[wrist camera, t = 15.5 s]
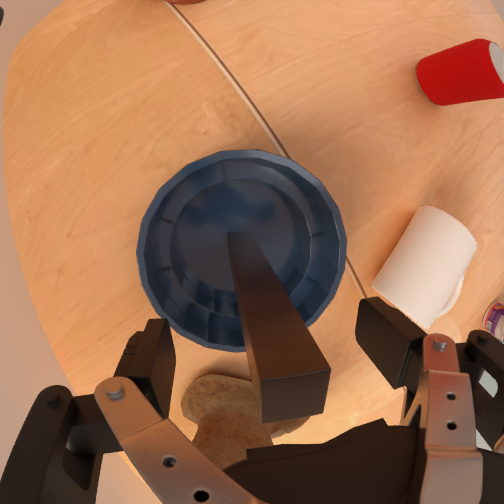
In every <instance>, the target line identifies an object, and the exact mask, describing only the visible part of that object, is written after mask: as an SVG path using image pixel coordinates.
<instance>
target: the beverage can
mask: <svg viewBox="0 0 504 504" xmlns="http://www.w3.org/2000/svg"><path fill="white" fill-rule="evenodd" d="M415 73H416V80H417V83H418V85H419V87H420V89H421V91H422V93H423V94H424V95H425V96H426V98H427V99H428V100H430V101H431V102H432V103H434V104H437V105H440V106H446V105H452V104H458V103H465V102H472V101H479V100H487V99H496V98H504V51H503V50H502V48H501V47H499V46H498V45H497V44H496V43H494V42H491V41H488V40H485V39H475V40H472V41H469V42H466V43H463V44H460V45H457V46H454V47H451V48H449V49H446V50H443V51H441V52H438V53H435V54H433V55H430V56H428V57H425V58H423V59H421V60H420V61H419V63H418V64H417V66H416V71H415Z"/></svg>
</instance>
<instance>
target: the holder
mask: <svg viewBox="0 0 504 504" xmlns="http://www.w3.org/2000/svg"><path fill="white" fill-rule="evenodd" d="M164 1H166V2H169V3H173V4H193V3H198V2H202V1H205V0H164Z"/></svg>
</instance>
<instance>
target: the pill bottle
mask: <svg viewBox="0 0 504 504" xmlns="http://www.w3.org/2000/svg"><path fill="white" fill-rule="evenodd" d="M483 327H484V328H485V329H486V330H488V331H489V332H490V333H492V334H493V335H494V336H496V337H497V338H499V339H500V340H501V341H503V342H504V305H502V304H500V303H499V302H493V303H492V304H491V305H490V306H489V307H488V309H487V311H486V313H485V315H484V318H483Z"/></svg>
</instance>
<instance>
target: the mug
mask: <svg viewBox="0 0 504 504" xmlns="http://www.w3.org/2000/svg"><path fill="white" fill-rule="evenodd" d="M476 249H477V242H476V240H475V238H474V236H473V235H472V233H471V232H470V231H469V230H468V229H467V228H466V227H465V226H464V225H463V224H462V223H461V222H460V221H458V220H457V219H456V218H454V217H453V216H451V215H450V214H448V213H447V212H445V211H443V210H441V209H438V208H436V207H433V206H428V205H422V206H420V207H419V208H418V209H417V211H416V213H415V215H414V216H413V218H412V220H411V222H410V223H409V225H408V227H407V228H406V230H405V232H404V233H403V235H402V237H401V238H400V240H399V242H398V243H397V245H396V246H395V248H394V250H393V251H392V253H391V254H390V256H389V257H388V259H387V261H386V262H385V264H384V265H383V267H382V268H381V270H380V271H379V273H378V274H377V276H376V277H375V278H374V280H373V281H372V283H371V287H372V288H373V289H374V290H376V291H377V292H378V293H379V294H381V295H382V296H383V297H384V298H386V299H387V300H388V301H389V302H391V303H392V304H393V305H395V306H396V307H397V308H398V309H400V310H401V311H402V312H404V313H405V314H406V315H407V316H409V317H410V318H411V319H413V320H414V321H415V322H416V323H418V324H419V325H420V326H422V327H423V328H425V329H429V328H430V326H431V325H432V323H433V322H434V320H435V319H436V318H438V317H440V316H442V315H444V314H445V313H447V312H448V311H449V310H450V309H451V308H452V307H453V305H454V304H455V303H456V301H457V299H458V297H459V295H460V292H461V289H462V285H463V280H464V272H465V270H466V269H467V267H468V265H469V263H470V261H471V259H472V257H473V255H474V253H475V251H476Z"/></svg>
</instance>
